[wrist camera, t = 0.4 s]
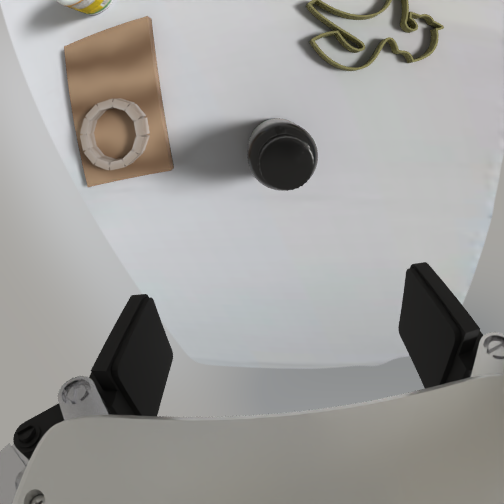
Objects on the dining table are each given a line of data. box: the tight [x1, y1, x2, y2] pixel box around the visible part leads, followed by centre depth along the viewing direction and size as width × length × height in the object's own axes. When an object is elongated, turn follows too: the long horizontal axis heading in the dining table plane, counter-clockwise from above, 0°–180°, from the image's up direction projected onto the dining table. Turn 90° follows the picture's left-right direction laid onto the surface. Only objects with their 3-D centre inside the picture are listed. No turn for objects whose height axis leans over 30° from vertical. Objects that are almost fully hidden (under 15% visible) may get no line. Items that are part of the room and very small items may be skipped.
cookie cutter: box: [306, 0, 444, 71], centre depth 29 cm, size 18×12×2 cm, turn 120°
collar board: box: [64, 16, 174, 187], centre depth 33 cm, size 20×12×4 cm, turn 7°
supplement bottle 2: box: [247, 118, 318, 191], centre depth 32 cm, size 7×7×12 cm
